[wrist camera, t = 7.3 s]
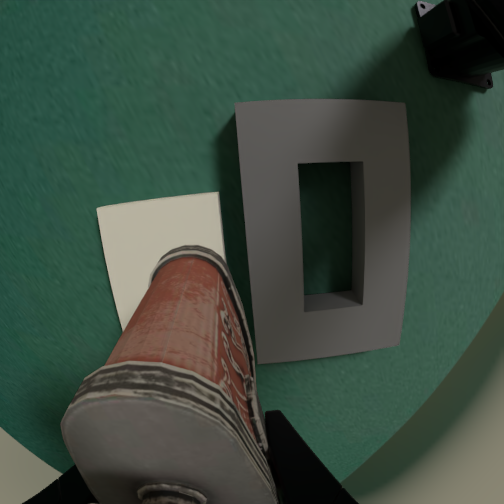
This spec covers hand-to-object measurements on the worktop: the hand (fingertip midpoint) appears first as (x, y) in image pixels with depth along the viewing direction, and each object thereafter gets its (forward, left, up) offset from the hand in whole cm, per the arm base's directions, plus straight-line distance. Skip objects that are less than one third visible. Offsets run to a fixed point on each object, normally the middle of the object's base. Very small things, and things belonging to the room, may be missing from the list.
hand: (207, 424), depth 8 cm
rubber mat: (+4, +1, -14) cm, 14 cm away
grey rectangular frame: (-6, -2, -14) cm, 15 cm away
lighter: (0, 0, -4) cm, 4 cm away
